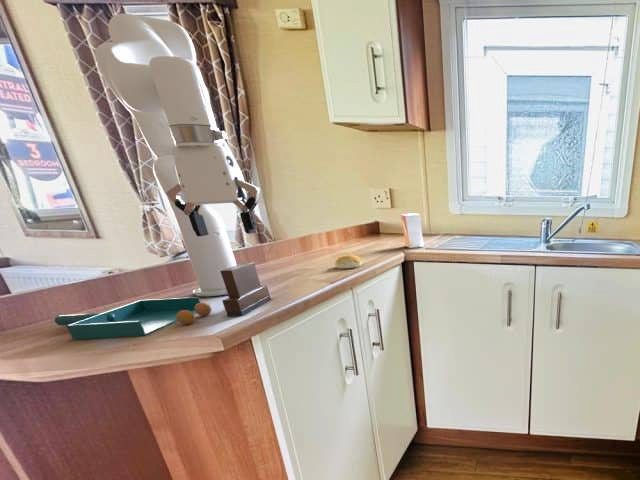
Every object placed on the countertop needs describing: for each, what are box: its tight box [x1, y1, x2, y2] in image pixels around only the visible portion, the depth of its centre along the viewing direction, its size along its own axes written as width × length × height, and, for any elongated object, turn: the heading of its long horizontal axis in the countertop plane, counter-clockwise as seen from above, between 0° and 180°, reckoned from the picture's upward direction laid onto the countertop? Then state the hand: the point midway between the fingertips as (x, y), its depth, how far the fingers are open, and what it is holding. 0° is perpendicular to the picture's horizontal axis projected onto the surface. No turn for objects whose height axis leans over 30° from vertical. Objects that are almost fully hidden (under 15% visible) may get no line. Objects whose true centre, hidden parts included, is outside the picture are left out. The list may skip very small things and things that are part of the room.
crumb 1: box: [177, 310, 195, 325], centre depth 83 cm, size 3×3×3 cm
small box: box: [400, 213, 425, 249], centre depth 179 cm, size 8×6×13 cm
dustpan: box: [53, 296, 201, 341], centre depth 85 cm, size 22×19×3 cm
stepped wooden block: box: [221, 261, 272, 318], centre depth 92 cm, size 14×3×9 cm, turn 5°
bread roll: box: [334, 253, 363, 270], centre depth 139 cm, size 8×9×4 cm
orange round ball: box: [195, 301, 212, 317], centre depth 88 cm, size 3×3×3 cm
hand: (227, 234), depth 87 cm, fingers open, 9 cm apart
